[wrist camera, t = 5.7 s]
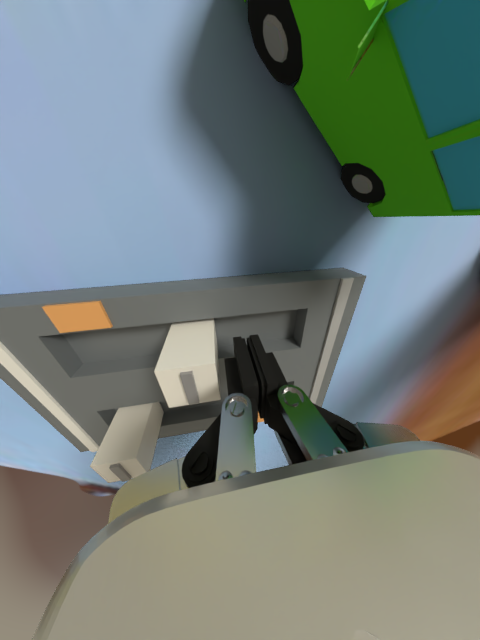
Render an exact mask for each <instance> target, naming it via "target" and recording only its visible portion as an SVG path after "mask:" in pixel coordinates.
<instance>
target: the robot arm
mask: <svg viewBox="0 0 480 640" xmlns="http://www.w3.org/2000/svg"><path fill="white" fill-rule="evenodd" d="M233 345H234V357H233V358H225V359H224V362H225V371H226V380H227V389H228V397H226V398H225V400H224V401H223V404H222V412H221V413H220V415H219V416H218V417H217V418H216V419H215V421H214V422H213V423H212V424H211V425H210V427H209V428H208V429H207V430H206V431H205V433H204V434H203V435H202V436H201V437H200V439H199V440H198V441H197V442H196V444H195V445H194V446H193V447H192V448H191V450H190V451H189V452H188V453H187V455H186V456H185V457H183V458H180V459H178V460H177V458H176V459H174V460H172V461H169V462H167V463H165V464H163V465H161V466H159V467H157V468H154V469H152V470H150V471H148V472H146V473H144V474H142V475H139V476H137V477H135V478H133V479H131V480H129V481H128V482H126V483H125V484H124V485H123V486H122V487H121V488H120V489H119V490H118V492H117V494H116V495H115V497H114V499H113V502H112V505H111V508H110V515H109V521H108V525H106V526H105V527H104V528H103V529H102V530H100V531H99V532H98V533H97V534H96V535H95V536H94V537H93V538H91V539H90V540H89V542H88V543H87V544H86V545H85V546H84V547H83V548H82V549H81V550H80V551H79V553H78V554H77V555H76V557H75V558H74V560H73V561H72V563H71V564H70V565H69V567H68V569H67V570H66V572H65V574H64V576H63V577H62V579H61V581H60V583H59V585H58V586H57V588H56V590H55V592H54V594H53V596H52V598H51V600H50V602H49V604H48V606H47V608H46V610H45V612H44V614H43V616H42V619H41V621H40V623H39V625H38V627H37V629H36V631H35V634H34V636H33V638H32V640H480V457H479V456H477V455H475V454H473V453H471V452H469V451H466V450H463V449H460V448H457V447H454V446H450V445H446V444H442V443H436V442H430V441H420V440H419V439H418V437H417V436H416V435H415V434H414V433H412V432H411V431H410V430H408V429H406V428H404V427H402V426H399V425H390V424H375V423H359V422H357V423H356V424H352V423H350V422H349V421H347V420H345V419H343V418H341V417H339V416H337V415H335V414H333V413H331V412H329V411H327V410H326V409H324V408H322V407H320V406H318V405H316V404H314V403H312V402H311V400H310V399H309V398H308V396H307V395H306V394H305V392H304V391H303V390H302V389H301V388H299V387H297V386H295V385H288V383H287V381H286V379H285V377H284V375H283V373H282V371H281V369H280V366H279V364H278V362H277V360H276V358H275V356H274V354H273V353H272V352H269V353H266V352H265V350H264V347H263V345H262V343H261V340H260V338H259V336H258V334H256V335H250V336H249V338H247V344H246V341H245V338H242V337H241V336H240V337H233ZM258 412H259V416H260V419H262V418H263V419H264V422H265V424H268V426H269V427H270V428H272V429H273V430H274V432H275V435H276V437H277V440H278V442H279V444H280V446H281V448H282V451H283V453H284V455H285V457H286V459H287V461H288V464H289V465H288V466H284V467H279V468H274V469H270V470H265V471H261V472H256V463H255V449H254V434H255V432H256V430H257V425H258Z"/></svg>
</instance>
